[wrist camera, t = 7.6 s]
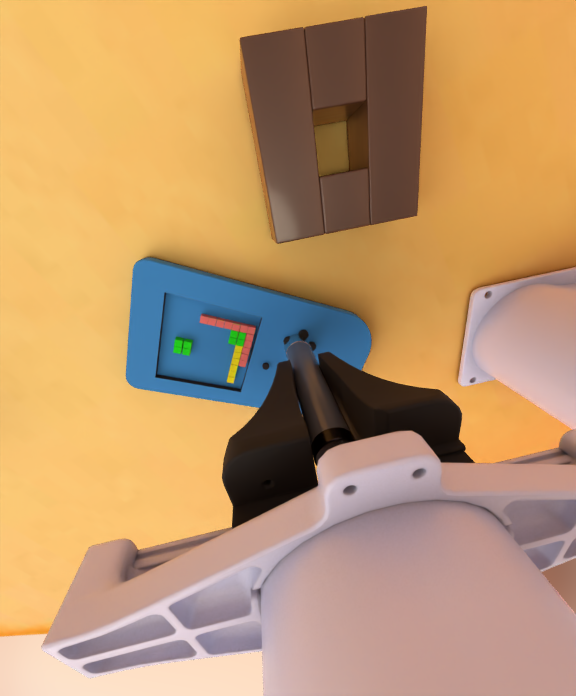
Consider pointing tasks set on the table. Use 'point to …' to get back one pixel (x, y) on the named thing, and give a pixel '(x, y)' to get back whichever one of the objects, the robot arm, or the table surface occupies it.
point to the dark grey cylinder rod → (316, 399)
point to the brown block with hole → (337, 120)
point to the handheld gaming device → (224, 333)
